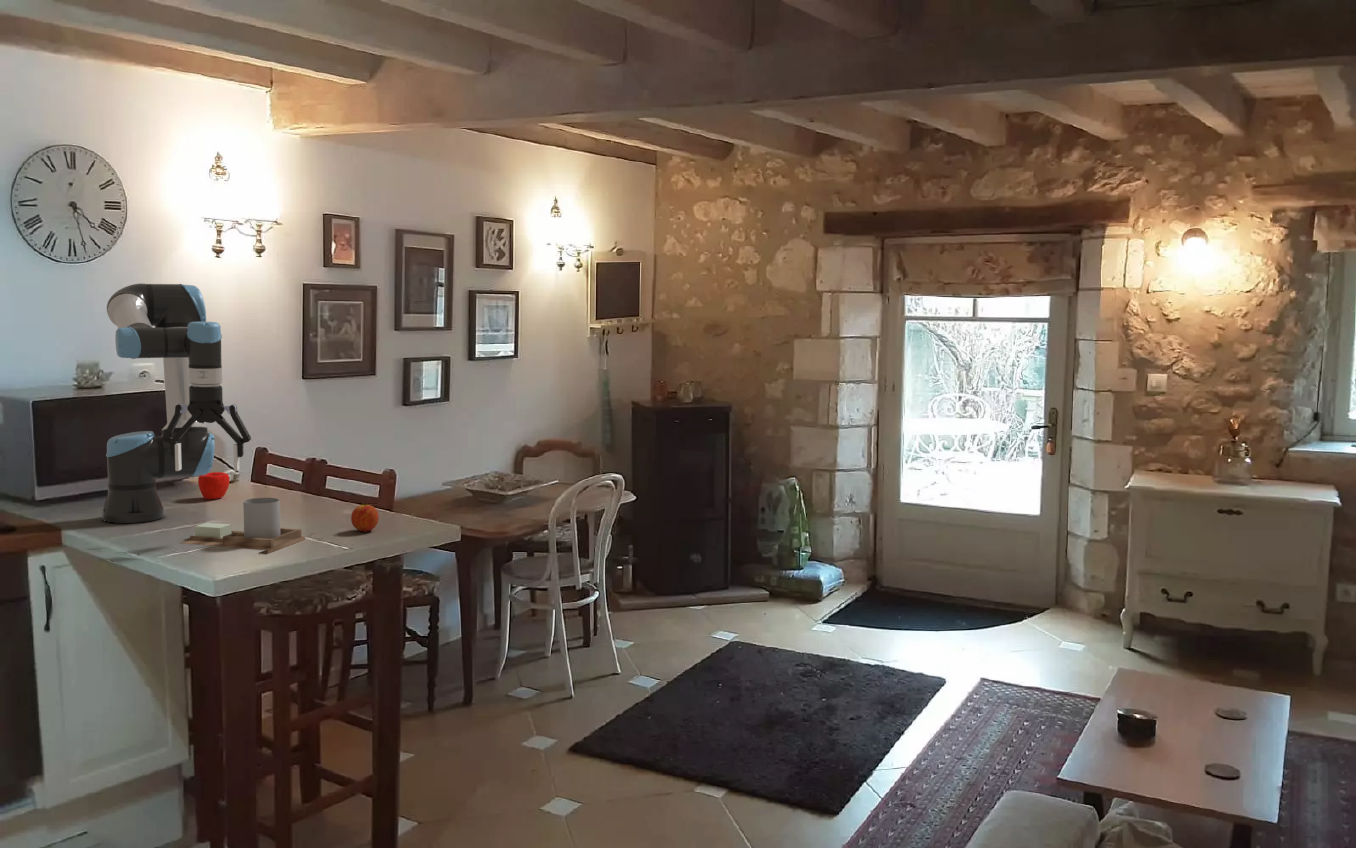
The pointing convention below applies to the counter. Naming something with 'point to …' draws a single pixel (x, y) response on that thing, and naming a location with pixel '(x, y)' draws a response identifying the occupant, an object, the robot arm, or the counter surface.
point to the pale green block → (213, 530)
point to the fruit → (364, 517)
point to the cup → (262, 518)
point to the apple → (213, 485)
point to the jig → (251, 540)
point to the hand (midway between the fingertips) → (207, 470)
